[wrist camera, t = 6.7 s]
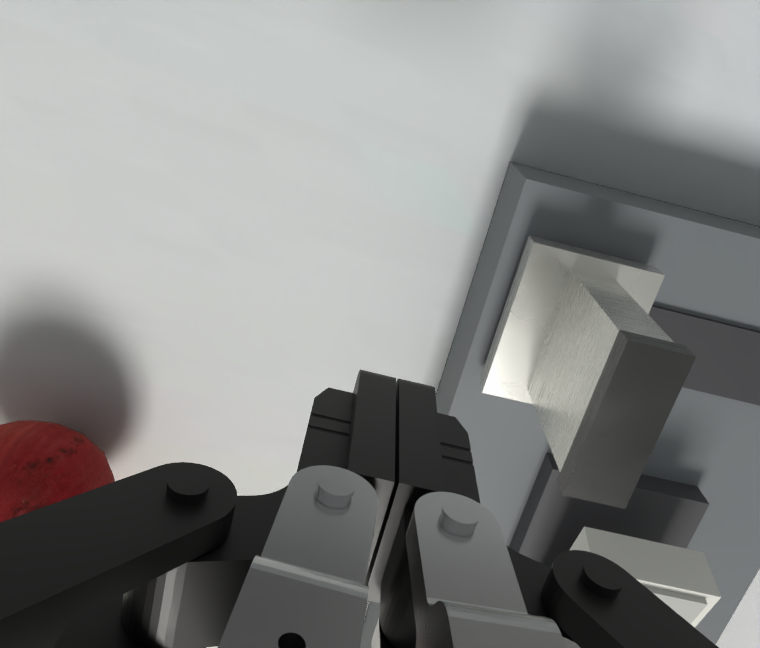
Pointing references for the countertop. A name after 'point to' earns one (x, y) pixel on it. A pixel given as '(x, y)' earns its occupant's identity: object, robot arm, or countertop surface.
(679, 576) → the rocker switch
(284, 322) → the countertop surface
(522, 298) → the slide paddle
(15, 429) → the onion
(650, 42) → the countertop surface
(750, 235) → the control panel
